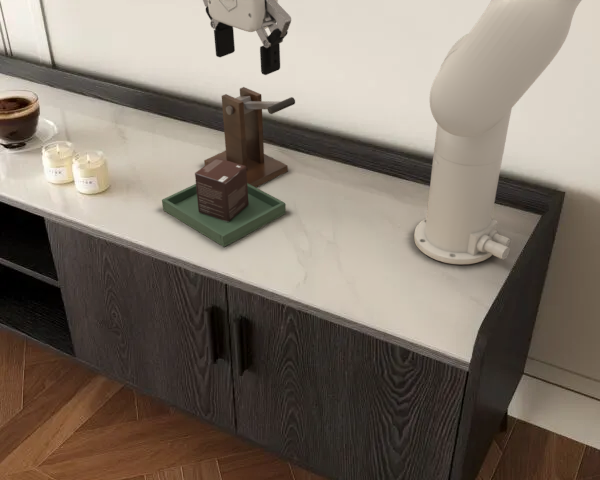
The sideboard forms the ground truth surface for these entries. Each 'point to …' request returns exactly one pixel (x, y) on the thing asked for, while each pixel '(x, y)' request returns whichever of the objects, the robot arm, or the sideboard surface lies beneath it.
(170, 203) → the square tray
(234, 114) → the brown lever stand
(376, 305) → the sideboard surface
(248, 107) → the lever handle
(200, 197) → the box
